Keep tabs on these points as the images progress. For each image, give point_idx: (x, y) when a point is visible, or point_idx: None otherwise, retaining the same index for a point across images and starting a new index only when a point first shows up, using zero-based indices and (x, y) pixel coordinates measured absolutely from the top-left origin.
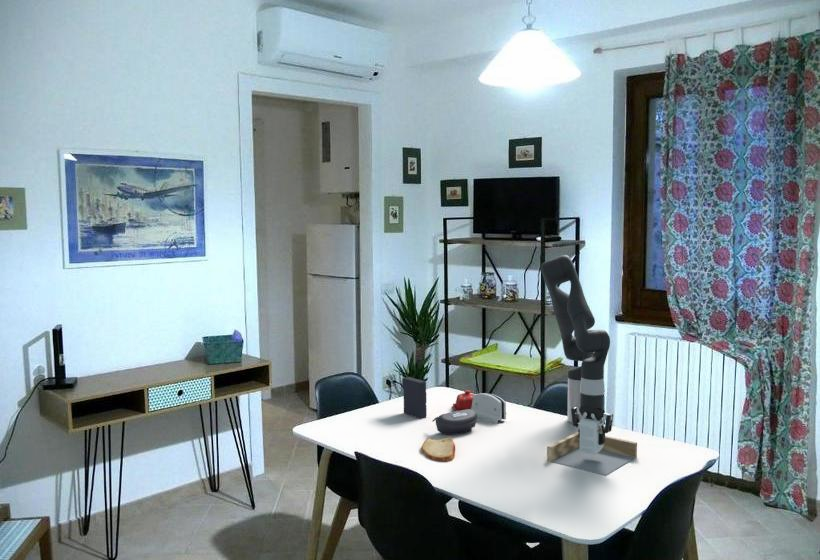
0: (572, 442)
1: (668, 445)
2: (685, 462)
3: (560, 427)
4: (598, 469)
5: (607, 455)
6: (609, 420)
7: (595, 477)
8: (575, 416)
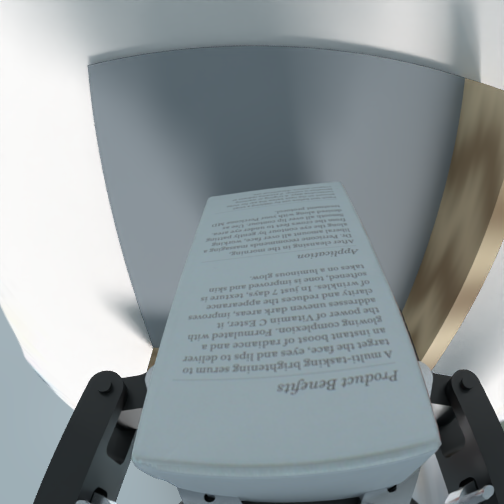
0: (424, 318)
1: None
2: (58, 367)
3: None
4: (164, 111)
5: None
6: (41, 486)
7: (125, 7)
8: (479, 461)
